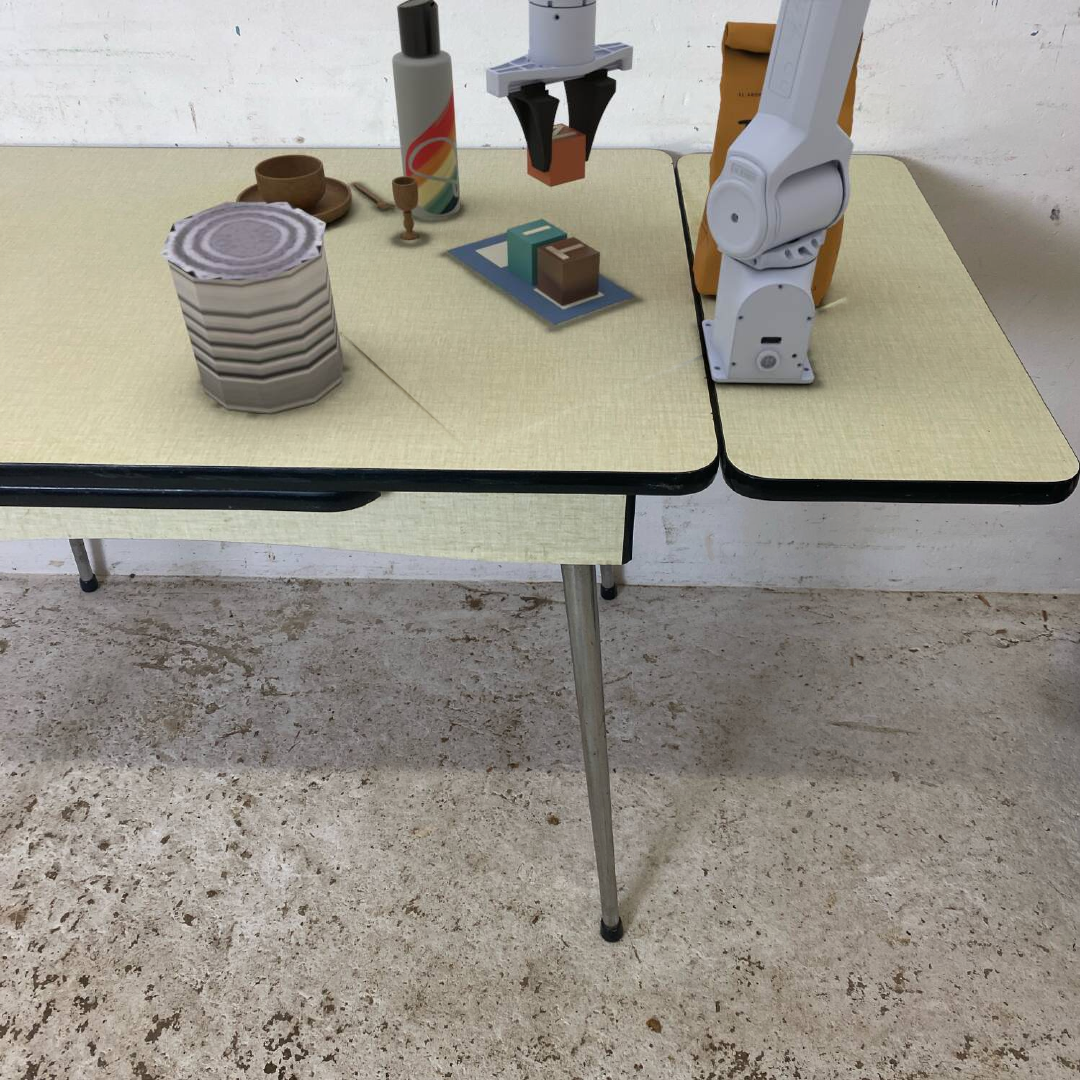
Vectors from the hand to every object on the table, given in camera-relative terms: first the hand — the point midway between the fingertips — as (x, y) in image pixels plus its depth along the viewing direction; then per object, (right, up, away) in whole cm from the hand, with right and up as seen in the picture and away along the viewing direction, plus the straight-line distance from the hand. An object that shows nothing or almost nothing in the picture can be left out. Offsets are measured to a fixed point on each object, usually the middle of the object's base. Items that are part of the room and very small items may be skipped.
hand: (560, 163), depth 89 cm
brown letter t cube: (+1, -13, -3) cm, 13 cm away
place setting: (-25, -3, +9) cm, 27 cm away
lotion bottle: (-13, 0, +12) cm, 18 cm away
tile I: (-2, -10, 0) cm, 10 cm away
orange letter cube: (0, -1, +1) cm, 2 cm away
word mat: (-2, -10, 0) cm, 11 cm away
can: (-23, -22, -12) cm, 34 cm away
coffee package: (+18, -12, -1) cm, 22 cm away
